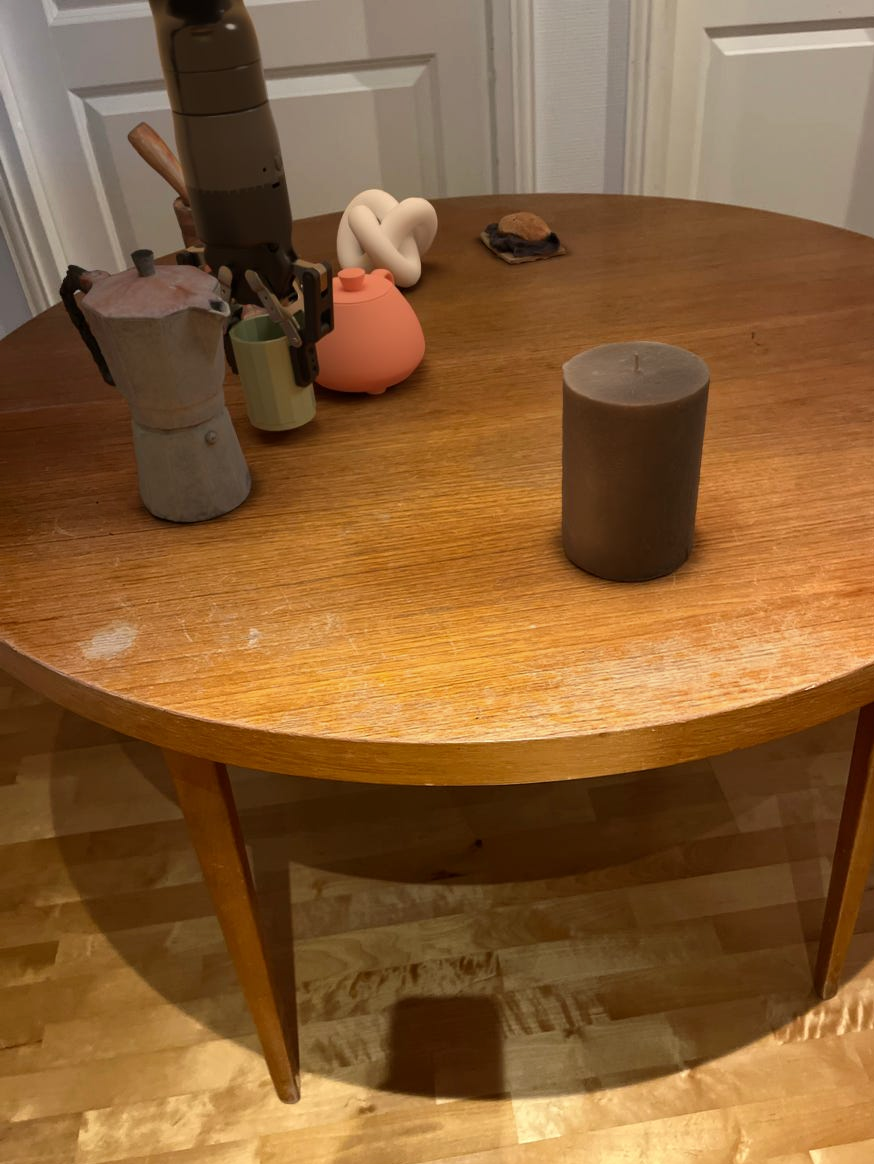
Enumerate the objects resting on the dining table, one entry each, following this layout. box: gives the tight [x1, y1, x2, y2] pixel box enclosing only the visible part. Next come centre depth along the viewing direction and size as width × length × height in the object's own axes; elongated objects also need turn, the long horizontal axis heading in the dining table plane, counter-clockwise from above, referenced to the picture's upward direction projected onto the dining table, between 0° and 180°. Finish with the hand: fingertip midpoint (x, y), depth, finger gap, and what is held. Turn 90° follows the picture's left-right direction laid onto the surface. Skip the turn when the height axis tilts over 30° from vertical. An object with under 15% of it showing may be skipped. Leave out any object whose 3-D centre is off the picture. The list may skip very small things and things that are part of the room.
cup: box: [229, 314, 317, 432], centre depth 85 cm, size 6×6×8 cm
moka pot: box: [58, 248, 253, 523], centre depth 74 cm, size 10×15×20 cm, turn 70°
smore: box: [479, 211, 566, 265], centre depth 120 cm, size 11×8×4 cm
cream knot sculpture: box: [336, 188, 438, 289], centre depth 112 cm, size 11×12×9 cm
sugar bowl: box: [314, 268, 426, 395], centre depth 93 cm, size 12×14×10 cm
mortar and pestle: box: [126, 121, 268, 319], centre depth 101 cm, size 12×9×20 cm
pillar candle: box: [560, 340, 711, 582], centre depth 68 cm, size 10×10×15 cm
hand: (275, 376), depth 85 cm, fingers closed on cup, 6 cm apart
